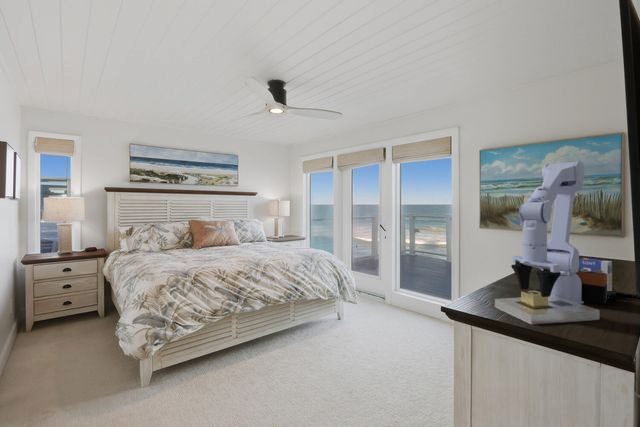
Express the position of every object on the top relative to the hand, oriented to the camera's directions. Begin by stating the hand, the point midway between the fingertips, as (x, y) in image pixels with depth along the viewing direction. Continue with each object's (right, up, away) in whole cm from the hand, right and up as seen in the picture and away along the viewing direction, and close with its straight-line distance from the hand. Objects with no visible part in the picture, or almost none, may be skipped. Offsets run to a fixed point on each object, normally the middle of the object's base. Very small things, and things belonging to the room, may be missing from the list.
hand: (534, 292), depth 90 cm
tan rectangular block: (0, -6, 0) cm, 6 cm away
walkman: (+32, -5, +17) cm, 37 cm away
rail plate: (+3, -6, +1) cm, 7 cm away
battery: (+25, -6, +10) cm, 28 cm away
